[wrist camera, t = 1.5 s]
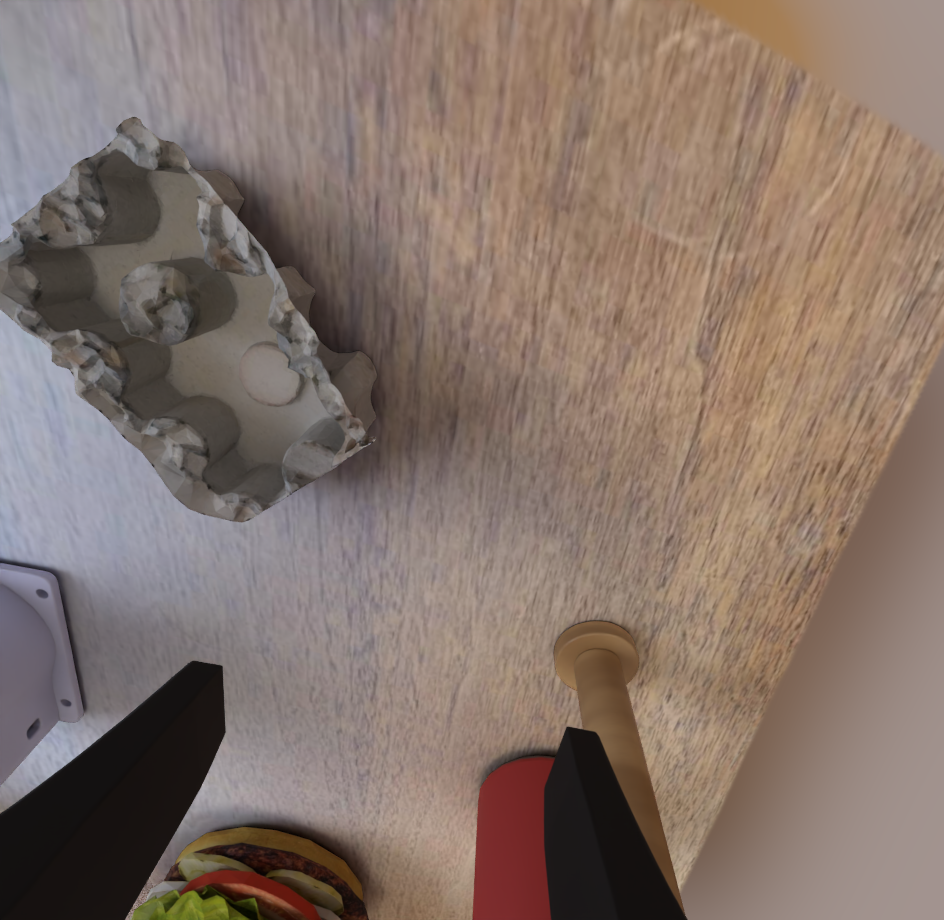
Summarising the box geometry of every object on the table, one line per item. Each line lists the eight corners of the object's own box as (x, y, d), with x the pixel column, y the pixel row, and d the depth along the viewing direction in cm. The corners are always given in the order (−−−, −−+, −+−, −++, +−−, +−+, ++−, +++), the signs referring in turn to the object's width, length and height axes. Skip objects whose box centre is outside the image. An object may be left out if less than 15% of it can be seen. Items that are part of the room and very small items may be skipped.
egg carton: (411, 407, 19) (388, 454, 15) (259, 498, 21) (206, 559, 17) (207, 114, 15) (112, 81, 12) (47, 257, 17) (-78, 268, 14)
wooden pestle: (621, 686, 24) (707, 1040, 14) (545, 672, 24) (573, 1017, 14) (646, 628, 22) (765, 976, 12) (565, 613, 22) (614, 951, 12)
